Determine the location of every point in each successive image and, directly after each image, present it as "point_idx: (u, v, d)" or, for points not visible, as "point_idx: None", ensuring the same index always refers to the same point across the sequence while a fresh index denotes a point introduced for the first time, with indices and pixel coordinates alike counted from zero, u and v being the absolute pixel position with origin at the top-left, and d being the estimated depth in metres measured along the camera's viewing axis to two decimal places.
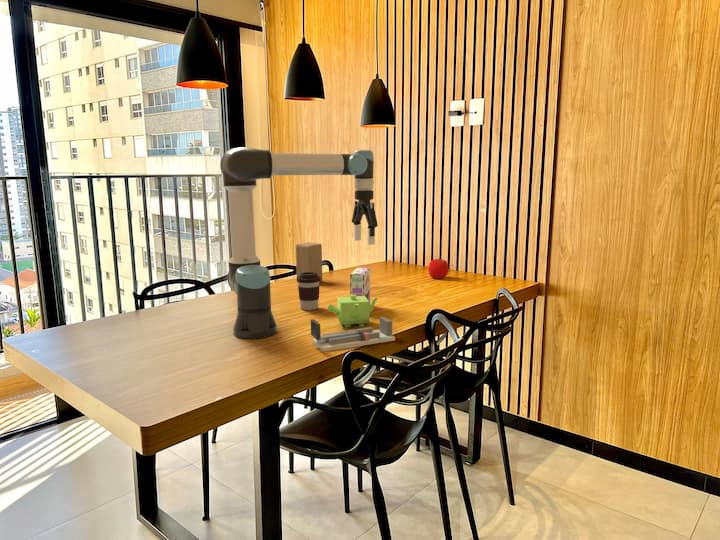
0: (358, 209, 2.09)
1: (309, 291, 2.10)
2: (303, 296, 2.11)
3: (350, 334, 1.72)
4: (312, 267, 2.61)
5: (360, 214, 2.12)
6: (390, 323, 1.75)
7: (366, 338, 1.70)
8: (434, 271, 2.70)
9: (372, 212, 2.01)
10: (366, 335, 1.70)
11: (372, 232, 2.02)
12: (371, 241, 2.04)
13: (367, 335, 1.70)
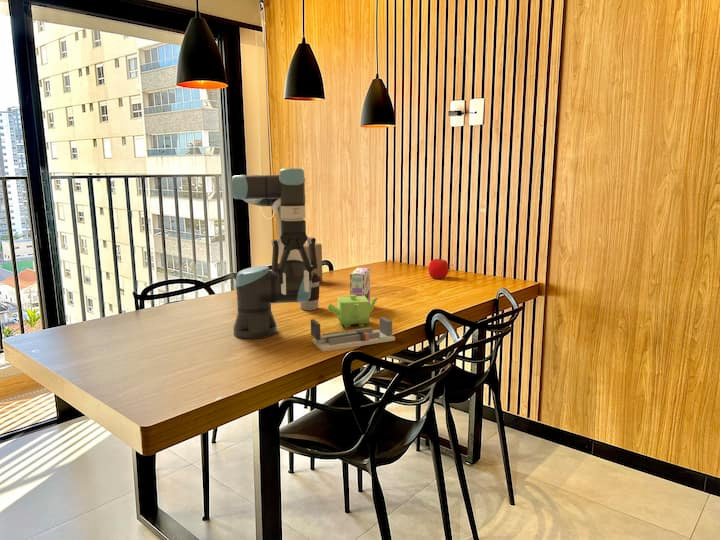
0: None
1: None
2: None
3: (350, 334, 1.72)
4: None
5: (301, 253, 1.61)
6: (390, 323, 1.75)
7: (366, 338, 1.70)
8: (434, 271, 2.70)
9: (273, 254, 1.57)
10: (366, 335, 1.70)
11: (278, 278, 1.60)
12: (282, 290, 1.61)
13: (367, 335, 1.70)
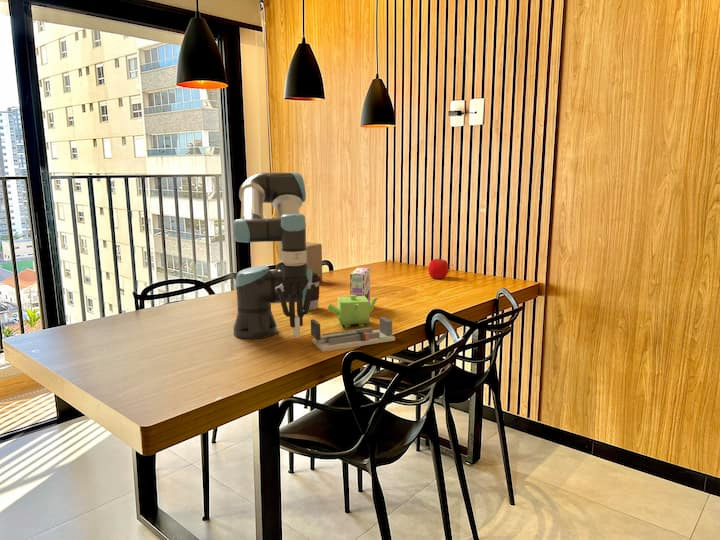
0: None
1: None
2: None
3: (350, 334, 1.72)
4: (312, 267, 2.61)
5: (297, 297, 1.63)
6: (390, 323, 1.75)
7: (366, 338, 1.70)
8: (434, 271, 2.70)
9: (280, 300, 1.61)
10: (366, 335, 1.70)
11: (290, 322, 1.64)
12: (294, 332, 1.65)
13: (367, 335, 1.70)
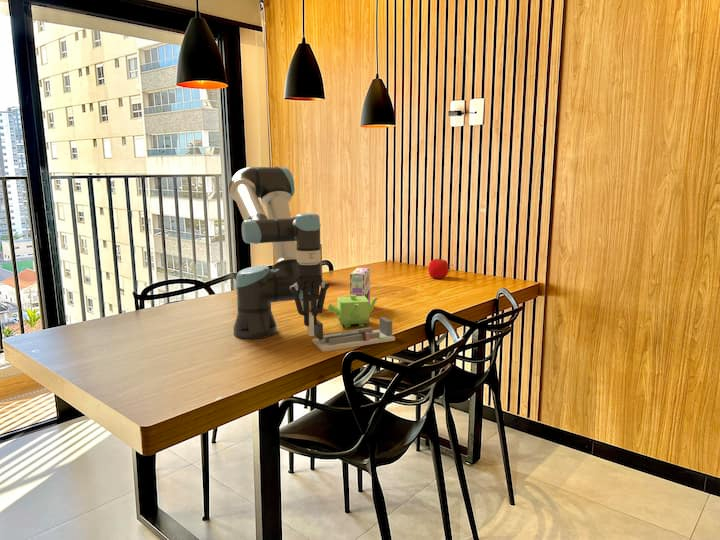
0: None
1: None
2: None
3: (352, 334, 1.72)
4: None
5: (311, 296, 1.65)
6: (390, 323, 1.75)
7: (366, 338, 1.70)
8: (434, 271, 2.70)
9: (295, 298, 1.63)
10: (366, 335, 1.70)
11: (304, 320, 1.65)
12: (308, 331, 1.66)
13: (367, 335, 1.70)
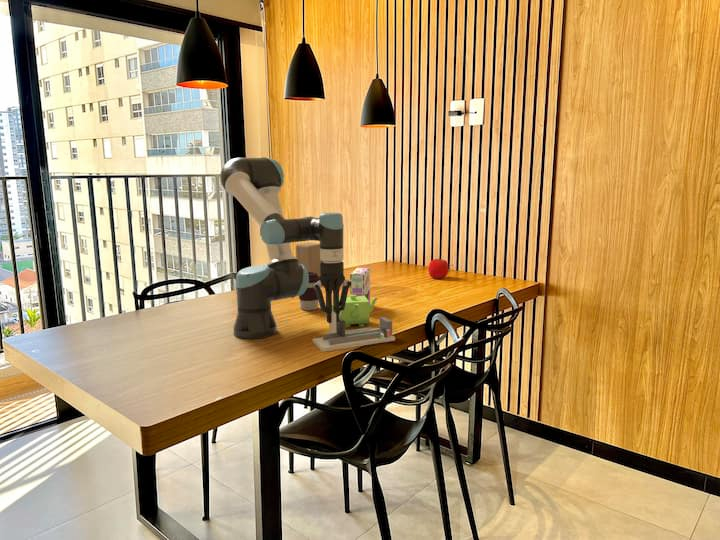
0: None
1: (309, 291, 2.10)
2: (303, 296, 2.11)
3: (373, 331, 1.75)
4: (312, 267, 2.61)
5: (334, 293, 1.68)
6: (390, 323, 1.75)
7: (387, 335, 1.73)
8: (434, 271, 2.70)
9: (318, 296, 1.66)
10: (387, 332, 1.73)
11: (327, 317, 1.69)
12: (330, 328, 1.70)
13: (388, 332, 1.73)
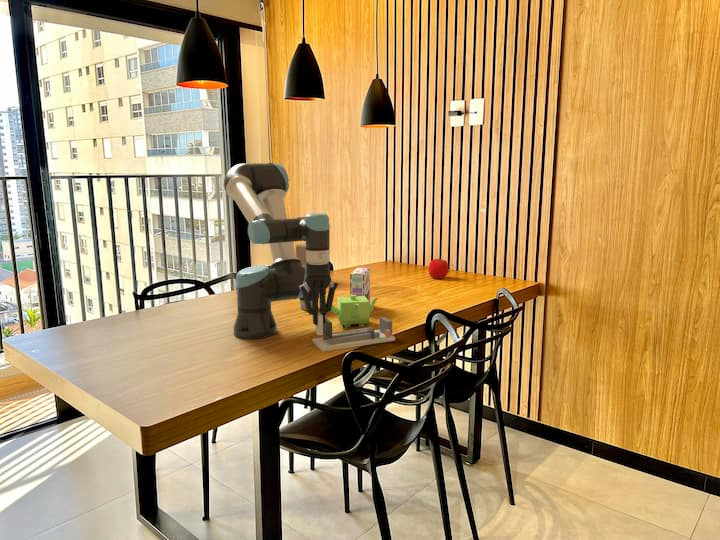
0: None
1: (309, 291, 2.10)
2: None
3: (361, 332, 1.74)
4: None
5: (320, 295, 1.66)
6: (390, 323, 1.75)
7: (387, 335, 1.73)
8: (434, 271, 2.70)
9: (304, 298, 1.64)
10: (387, 332, 1.73)
11: (313, 319, 1.67)
12: (317, 330, 1.68)
13: (388, 332, 1.73)
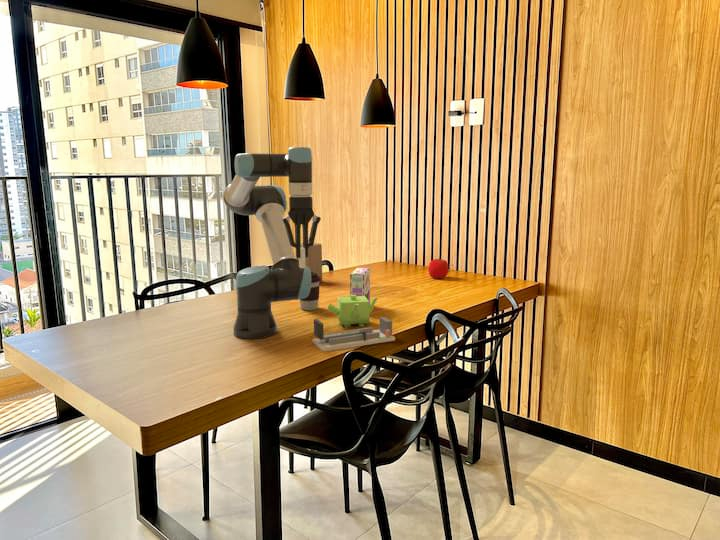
0: None
1: None
2: None
3: (353, 334, 1.72)
4: (312, 267, 2.61)
5: (303, 229, 1.70)
6: (390, 323, 1.75)
7: (387, 335, 1.73)
8: (434, 271, 2.70)
9: (287, 230, 1.67)
10: (387, 332, 1.73)
11: (296, 253, 1.70)
12: (299, 263, 1.72)
13: (388, 332, 1.73)
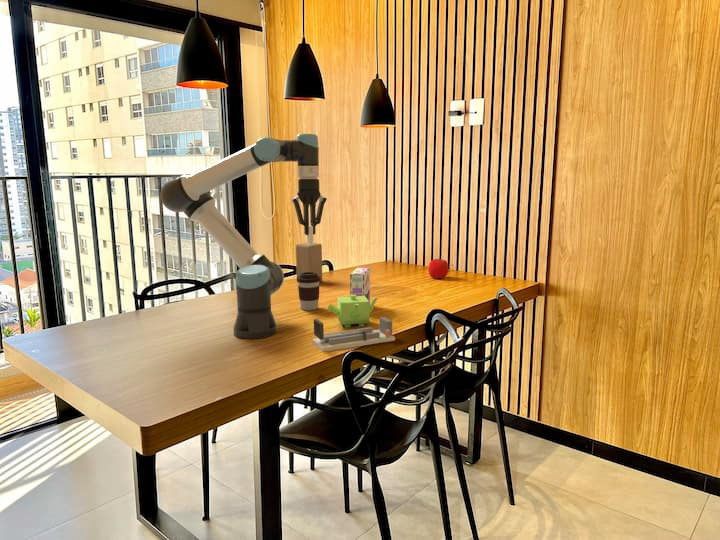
0: None
1: (309, 291, 2.10)
2: (303, 296, 2.11)
3: (353, 334, 1.72)
4: (312, 267, 2.61)
5: (311, 208, 1.87)
6: (390, 323, 1.75)
7: (387, 335, 1.73)
8: (434, 271, 2.70)
9: (296, 210, 1.85)
10: (387, 332, 1.73)
11: (304, 230, 1.88)
12: (308, 240, 1.89)
13: (388, 332, 1.73)
